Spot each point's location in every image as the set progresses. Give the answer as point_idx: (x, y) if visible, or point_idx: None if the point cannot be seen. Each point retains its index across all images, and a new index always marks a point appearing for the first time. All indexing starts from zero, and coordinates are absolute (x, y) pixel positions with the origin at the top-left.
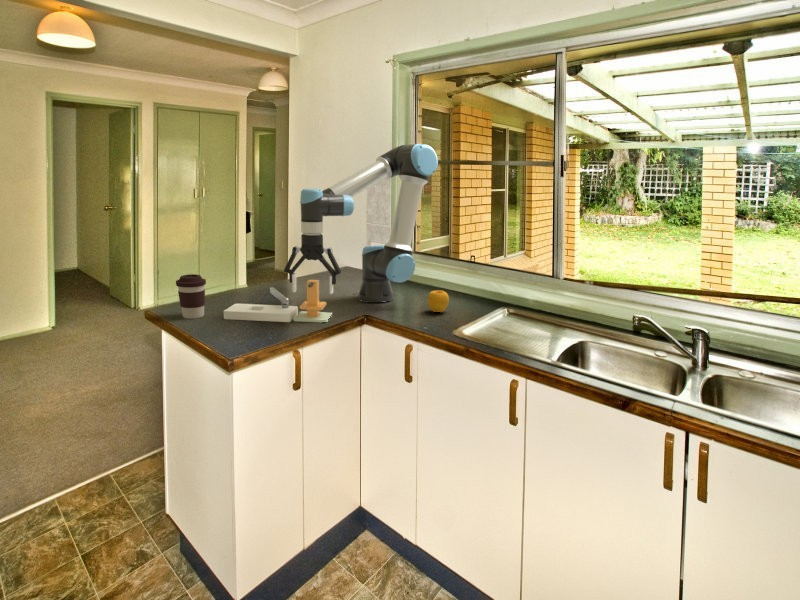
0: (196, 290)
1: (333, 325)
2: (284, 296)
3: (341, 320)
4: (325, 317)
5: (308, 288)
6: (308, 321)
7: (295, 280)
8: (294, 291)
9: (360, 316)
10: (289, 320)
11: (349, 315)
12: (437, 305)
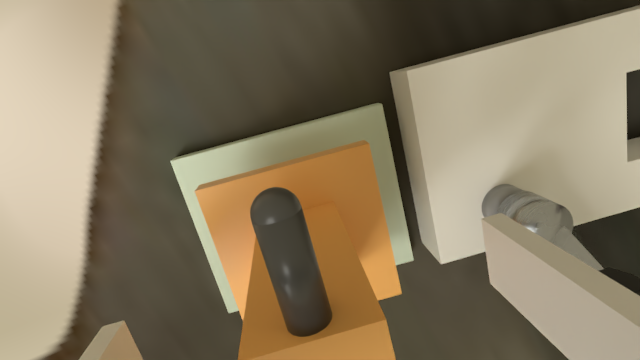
0: None
1: (102, 124)
2: None
3: (121, 238)
4: None
5: (342, 272)
6: (287, 128)
7: (570, 329)
8: (486, 222)
9: (68, 352)
10: (392, 71)
11: (138, 342)
12: None
